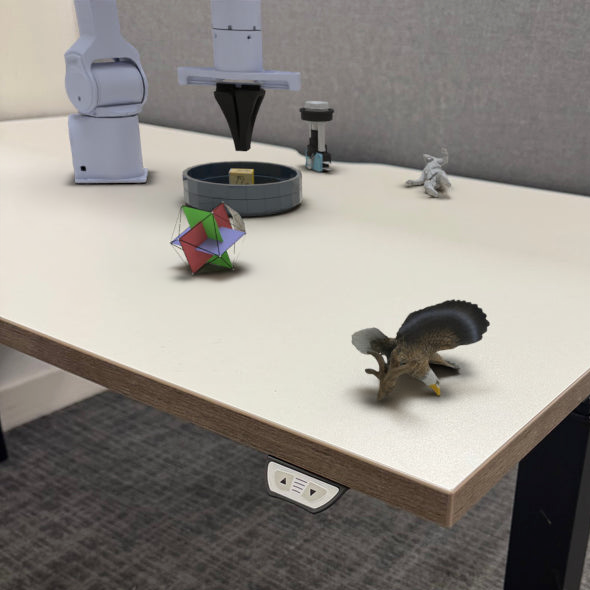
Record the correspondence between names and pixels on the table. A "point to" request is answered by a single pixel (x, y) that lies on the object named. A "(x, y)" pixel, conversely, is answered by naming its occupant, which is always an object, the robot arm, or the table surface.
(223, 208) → the geometric puzzle
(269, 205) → the bowl
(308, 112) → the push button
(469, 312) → the eagle figurine
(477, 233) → the table surface
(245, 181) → the alphabet block
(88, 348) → the table surface
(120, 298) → the table surface
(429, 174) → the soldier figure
